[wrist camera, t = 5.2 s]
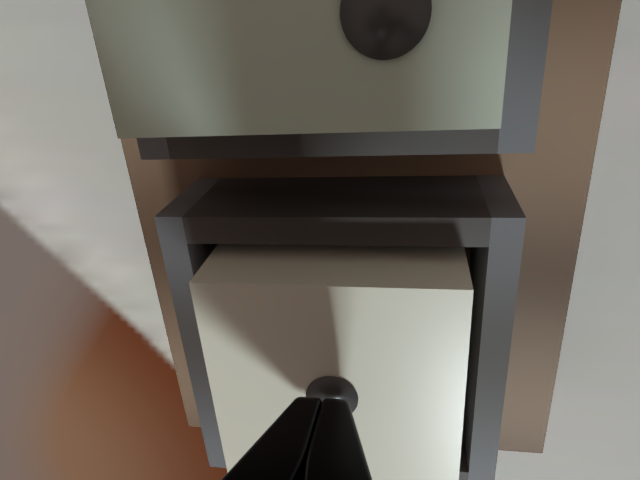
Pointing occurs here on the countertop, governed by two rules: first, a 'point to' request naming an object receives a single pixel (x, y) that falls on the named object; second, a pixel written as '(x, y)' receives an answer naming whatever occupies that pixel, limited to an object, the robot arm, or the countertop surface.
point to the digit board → (411, 216)
